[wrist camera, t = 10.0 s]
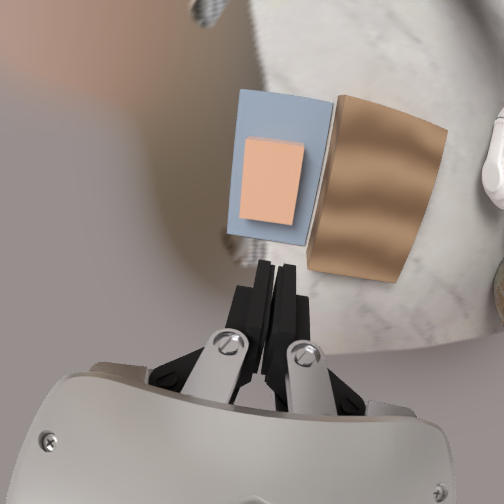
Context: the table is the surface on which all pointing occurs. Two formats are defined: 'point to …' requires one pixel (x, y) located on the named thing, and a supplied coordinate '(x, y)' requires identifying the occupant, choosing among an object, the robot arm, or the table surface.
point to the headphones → (495, 164)
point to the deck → (373, 190)
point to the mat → (282, 128)
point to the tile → (270, 179)
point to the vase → (499, 291)
